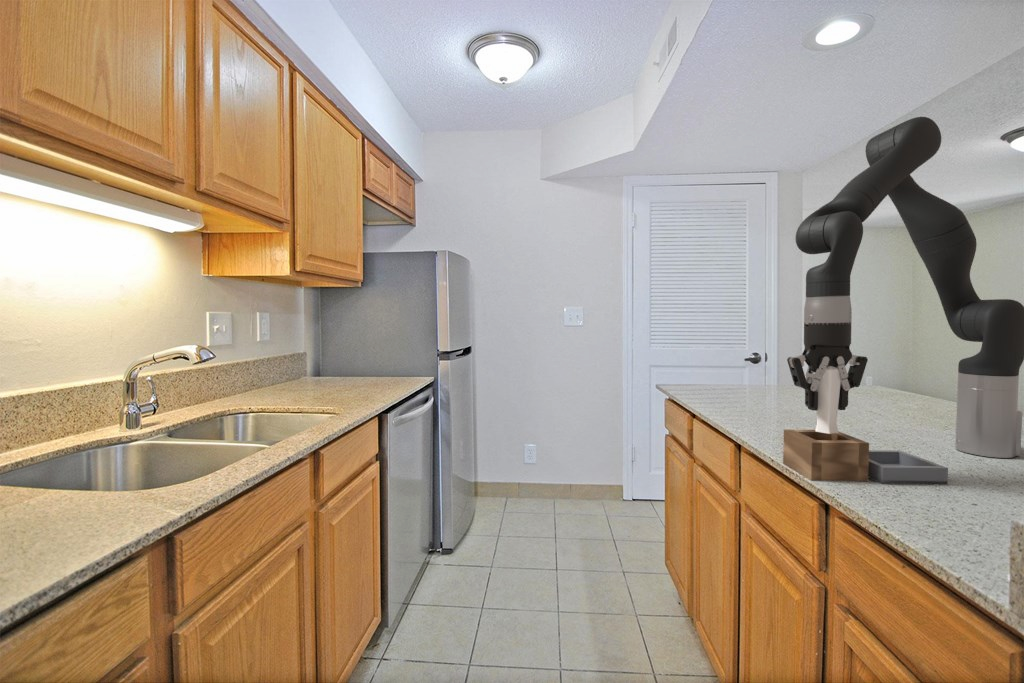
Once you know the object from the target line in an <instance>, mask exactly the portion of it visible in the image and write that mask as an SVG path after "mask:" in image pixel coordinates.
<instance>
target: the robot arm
mask: <svg viewBox="0 0 1024 683" xmlns="http://www.w3.org/2000/svg"><path fill="white" fill-rule="evenodd" d="M941 144H942V133H941V130H940V126H938V124H937V123H936V122H935V121H934V120H933V119H932V118H930V117H926V116H916V117H913V118H909V119H908V120H905V121H903V122H901V123H899V124H897V125H895V126H892V127H891V128H889V129H886V130H885V131H883V132H881V133H879V134H876V135H875V136H873V137H871V138H870V139H868V141H867V143H866V145H865V157H866V161H867V164H868V165H869V166H868V168H866V169H864V170H863V171H861V172H860V173H858V174H857V175H856V176H855V177H853V178H852V179H851V180H850V181H849V182H847V184H846V185H844V186H843V188H841V190H840V191H839V192H838V193H837V194H836V196H834V197H833V199H832V200H831V201H829V202H828V203H825V204H823V205H822V206H821V207H819V208H818V209H817V210H815V211H814V212H812V213H811V214H809V215H808V216H807V217H805V218H804V220H803V221H801V223H800V224H799V226H798V227H797V230H796V233H795V244H796V246H797V248H798V249H799V250H800V252H802V253H804V254H807V255H819V254H826V253H829V255H828V256H827V257H828V258H826V261H825V262H824V263H821V264H819V265H816V266H813V267H810V268H809V269H808V270H807V271H806V274H805V303H804V308H803V345H804V350H803V352H802V353H801V355H797V356H788V357H787V359H786V361H787V364H788V367H789V371H790V375H791V378H792V382H793V384H794V386H795V387H798V388H802V389H803V390H804V405H805V407H807V409H808V410H809V411H810V410H811V411H813V412H814V411H816V412H817V410H818V392H817V391H816V390H817V387H818V384H819V382H820V380H822V378H823V375H824V372H825V369H826V367H828V366H832V367H836V368H838V370H839V375H840V380H841V384H840V394H839V403H838V411H845V410H846V409H847V407H848V405H849V391H850V390H851V389H852V388H853V389H854V388H859V387H860V385H861V382H862V379H863V376H864V373H865V370H866V367H867V363H868V358H867V357H866V356H862V355H856V354H855V355H854V354H853V352H852V350H851V348H850V346H851V344H852V317H853V316H852V310H853V308H852V302H851V274H852V270H853V268H854V264H855V262H856V258H857V254H858V251H859V249H860V247H861V246H860V245H861V243H862V240H863V236H864V225H863V223H864V222H865V221H866V220H867V219H868V218H869V217H870V216H871V215H872V213H874V211H875V210H876V209H877V208H878V207H879V205H880V204H881V203H882V201H884V199H885V198H886V197H887V196H888V198H889V199H890V201H891V202H892V203H893V205H894V207H895V209H896V211H897V212H898V214H899V216H900V218H901V221H903V224H904V226H905V228H906V230H907V232H908V234H909V236H910V238H911V239H910V240H911V241H912V243H913V245H914V247H915V249H916V251H917V253H918V255H919V257H920V258H921V260H922V261H923V264H924V266H925V268H926V269H927V272H928V274H929V276H930V278H931V279H930V280H932V283H933V285H934V287H935V290H936V293H937V294H938V297H939V300H940V303H941V306H942V309H943V312H944V315H945V318H946V321H947V322H948V325H949V327H950V330H951V331H952V332H953V334H954V335H955V336H956V337H957V338H959V339H961V340H963V341H965V342H974V343H981V347H980V350H979V352H977V353H976V354H974V355H973V356H970V357H965V358H962V359H960V360H959V362H958V367H957V394H956V395H957V396H956V397H957V398H956V415H955V416H956V418H955V419H956V420H955V423H956V424H955V445H954V446H955V449H956V450H957V451H960V452H963V453H966V454H971V455H976V456H982V457H989V458H998V459H999V458H1000V459H1001V458H1003V459H1011V458H1015V457H1020V456H1021V450H1022V429H1023V428H1022V427H1023V412H1022V411H1021V410H1018V404H1019V403H1018V402H1019V381H1020V380H1019V379H1020V378H1019V376H1020V369H1021V366H1022V365H1023V364H1024V305H1023V304H1022V303H1021V302H1019V301H1018V300H1015V299H1009V298H1006V299H1005V298H1002V299H1001V298H999V299H998V298H997V299H996V298H995V299H981V298H980V297H979V295H978V294H977V292H976V290H975V288H974V286H973V283H972V280H971V269H972V265H973V262H974V259H975V257H976V256H975V255H976V251H977V244H978V243H977V239H976V238H977V237H976V236H975V232H974V230H973V228H972V226H971V224H970V223H969V221H968V219H967V217H966V214H964V212H963V211H962V210H961V208H958V207H957V206H956V205H953V204H952V203H950V202H948V201H947V200H945V199H942V198H941V197H940V196H939V197H938V196H936V195H934V194H932V193H931V192H929V191H927V190H925V189H924V188H922V187H921V186H920V185H919V184H918V183H917V182H916V181H915V179H914V178H913V177H912V175H911V174H912V173H913V172H915V171H916V170H917V169H919V167H921V166H922V165H923V164H925V163H926V162H928V161H929V160H930V159H932V158H933V157H934V156H935V155H936V154H937V153H938V151H939V150H940V147H941ZM804 362H805V364H806V365H807V369H806V372H805V371H804V368H803V367H804V365H805V364H804ZM848 364H849V369H848V371H847V368H846V366H847V365H848ZM814 372H816V373H815V374H814Z"/></svg>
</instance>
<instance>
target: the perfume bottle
mask: <svg viewBox="0 0 1024 683" xmlns="http://www.w3.org/2000/svg"><path fill="white" fill-rule="evenodd" d="M815 373H816V372H814V374H815ZM840 384H841V380H840V375H839V370H838V368H836V367H832V366H828V367H826V369H825V372H824V375H823V378H822V380H820V382H819V384H818V387H817V390H816V391H817V392H818V410H817V411H816V420H817V421H816V422H817V423H816V426H815V429H814V430H815V431H816V432H821V433H827V434H833V433H839V432H840V431H839V428H838V425H837V421H838V411H839V410H838V403H839V394H840ZM838 431H839V432H838Z"/></svg>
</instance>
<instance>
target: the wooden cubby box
mask: <svg viewBox="0 0 1024 683" xmlns="http://www.w3.org/2000/svg"><path fill="white" fill-rule="evenodd" d="M815 430H816V429H783V442H782V443H783V448H782V449H783V451H782V463H783V465H785V466H787V467H789V468H790V469H792V470H794V471H795V472H796V473H799V474H800V475H802V476H804V477H805V478H806V479H808V480H810V481H837V482H838V481H843V482H845V481H847V482H853V481H854V482H855V481H856V482H858V481H859V482H869V477H868V466H869V450H870V442H867V441H866V440H863V439H860V438H857V437H855V436H852V435H849V434H847V433H843V432H841V431H840V430H838V432H839V433H833V434H827V433H821V432H816V431H815Z"/></svg>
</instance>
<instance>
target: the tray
mask: <svg viewBox="0 0 1024 683" xmlns="http://www.w3.org/2000/svg"><path fill="white" fill-rule="evenodd" d="M948 477H949V468H948V467H946V466H944V465H940V464H938V463H935V462H933V461H930V460H927V459H925V458H922V457H919V456H917V455H913V454H912V453H910V452H909V453H908V452H906V451H904V450H896V449H894V450H893V449H892V450H890V449H888V450H886V449H885V450H883V449H882V450H879V449H877V450H875V449H874V450H873V449H869V466H868V479H869V478H870V479H872V480H873V481H876V482H878V483H880V484H883V485H934V484H938V485H939V486H941V485H942V486H944V485H948V480H949V478H948Z"/></svg>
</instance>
